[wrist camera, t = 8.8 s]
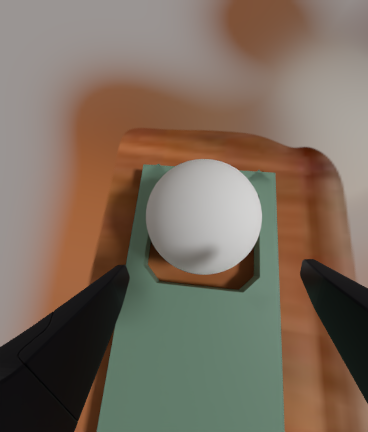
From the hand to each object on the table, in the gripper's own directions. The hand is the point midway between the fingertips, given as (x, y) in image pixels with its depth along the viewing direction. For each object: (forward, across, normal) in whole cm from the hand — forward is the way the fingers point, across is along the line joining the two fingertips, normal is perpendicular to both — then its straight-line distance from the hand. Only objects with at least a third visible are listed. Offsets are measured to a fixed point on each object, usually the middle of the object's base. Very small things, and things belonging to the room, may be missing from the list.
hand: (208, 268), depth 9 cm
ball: (+9, 0, +1) cm, 9 cm away
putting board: (+8, +2, +11) cm, 13 cm away
